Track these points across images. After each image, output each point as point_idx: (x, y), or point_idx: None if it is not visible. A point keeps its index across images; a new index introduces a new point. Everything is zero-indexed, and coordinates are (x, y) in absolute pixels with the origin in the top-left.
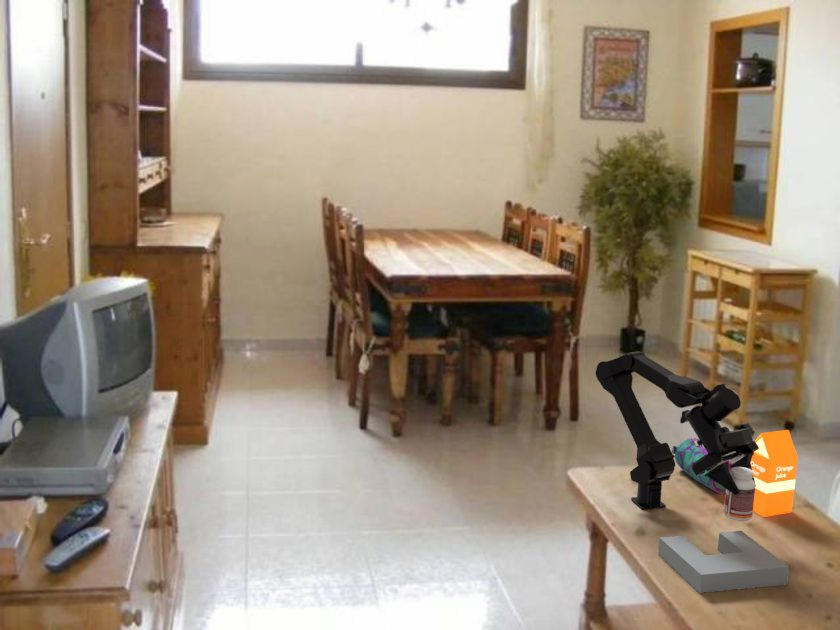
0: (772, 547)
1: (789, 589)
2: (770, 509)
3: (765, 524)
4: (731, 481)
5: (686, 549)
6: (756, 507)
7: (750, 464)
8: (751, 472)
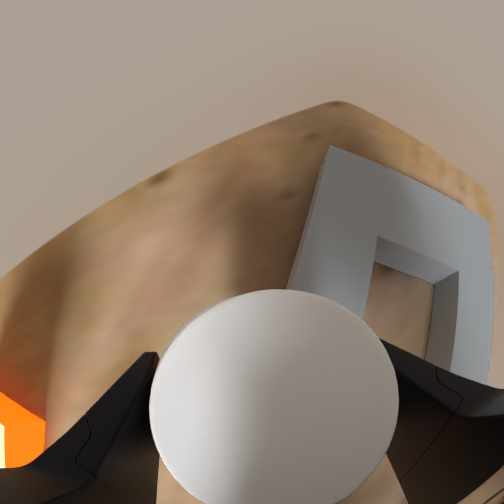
0: (182, 299)
1: None
2: (20, 413)
3: (74, 397)
4: (422, 361)
5: (476, 312)
6: (36, 448)
7: (46, 456)
8: (231, 316)
